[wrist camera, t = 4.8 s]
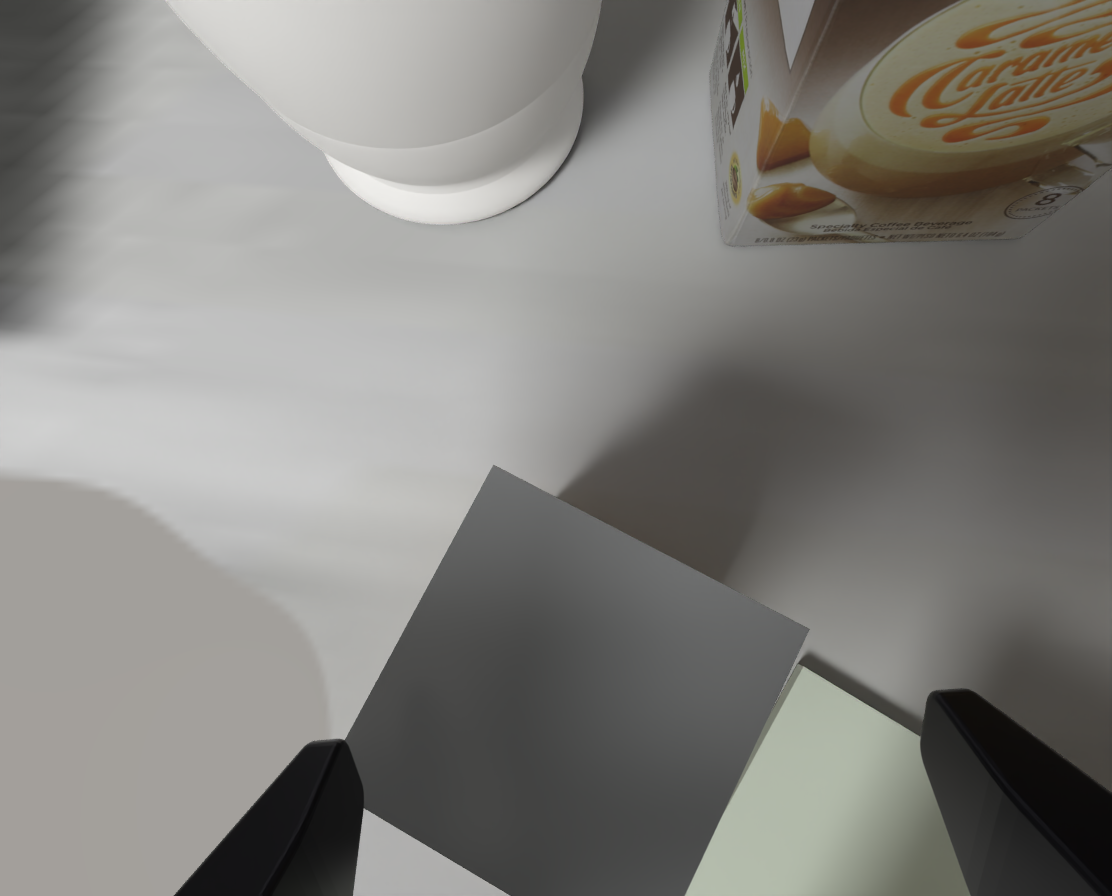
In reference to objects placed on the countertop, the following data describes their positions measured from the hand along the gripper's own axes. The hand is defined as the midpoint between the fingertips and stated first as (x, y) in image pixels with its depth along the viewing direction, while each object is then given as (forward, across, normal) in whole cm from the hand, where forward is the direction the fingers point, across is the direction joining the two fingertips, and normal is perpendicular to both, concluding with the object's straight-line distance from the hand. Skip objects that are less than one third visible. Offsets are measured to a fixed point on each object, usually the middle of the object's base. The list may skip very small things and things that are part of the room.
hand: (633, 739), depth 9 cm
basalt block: (+7, +1, +5) cm, 9 cm away
